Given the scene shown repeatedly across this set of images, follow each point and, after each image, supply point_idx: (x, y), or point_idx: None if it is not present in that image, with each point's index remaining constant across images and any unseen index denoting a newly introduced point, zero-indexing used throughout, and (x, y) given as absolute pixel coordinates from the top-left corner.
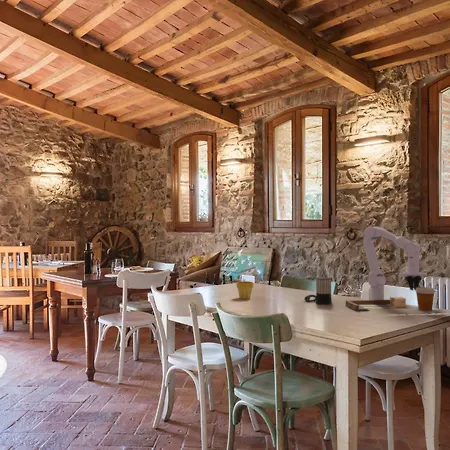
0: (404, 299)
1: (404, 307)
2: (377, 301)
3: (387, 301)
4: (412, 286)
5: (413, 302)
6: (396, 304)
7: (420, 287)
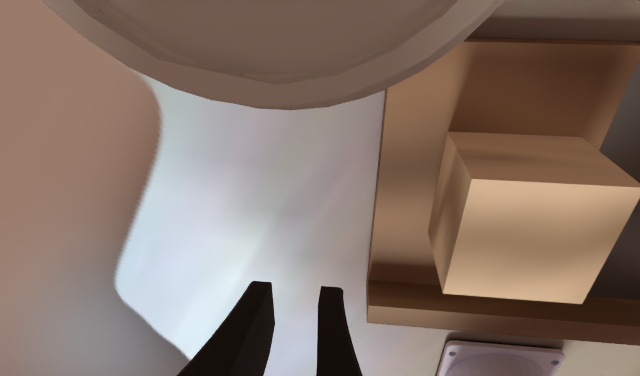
0: (486, 172)
1: (498, 88)
2: (626, 317)
3: (519, 306)
4: (335, 337)
5: None
6: (576, 148)
7: (288, 83)
